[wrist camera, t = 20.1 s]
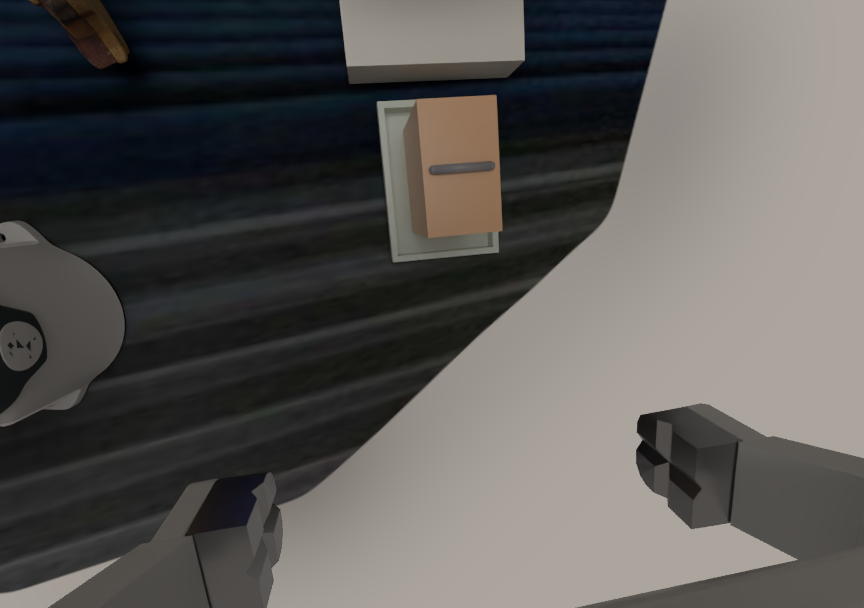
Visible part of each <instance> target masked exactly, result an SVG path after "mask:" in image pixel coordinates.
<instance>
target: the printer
mask: <svg viewBox="0 0 864 608" xmlns="http://www.w3.org/2000/svg"><path fill="white" fill-rule="evenodd" d="M339 1H340V10H341V19H342V28H343V37H344V46H345V55H346V64H347V71H348V78H349V84H358V83H383V82H408V81H433V80H458V79H483V78H507V77H508V76H509V75H510V74H511V73H512V72H513V71H514V70H515V69H516V68H517V67H518V66H519V65H520V64H521V63H522V62H523V61H524V60H525V50H524V10H523V0H339Z"/></svg>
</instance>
